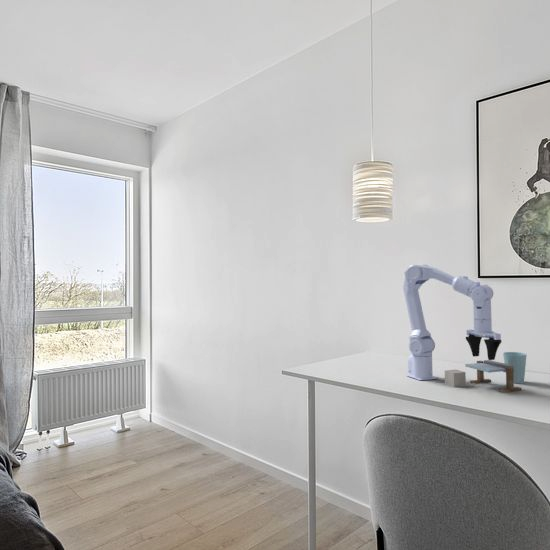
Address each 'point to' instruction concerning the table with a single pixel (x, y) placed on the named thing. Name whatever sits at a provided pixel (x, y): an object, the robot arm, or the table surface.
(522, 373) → the cup
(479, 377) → the stand
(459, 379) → the stone
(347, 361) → the table surface
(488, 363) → the trapdoor
